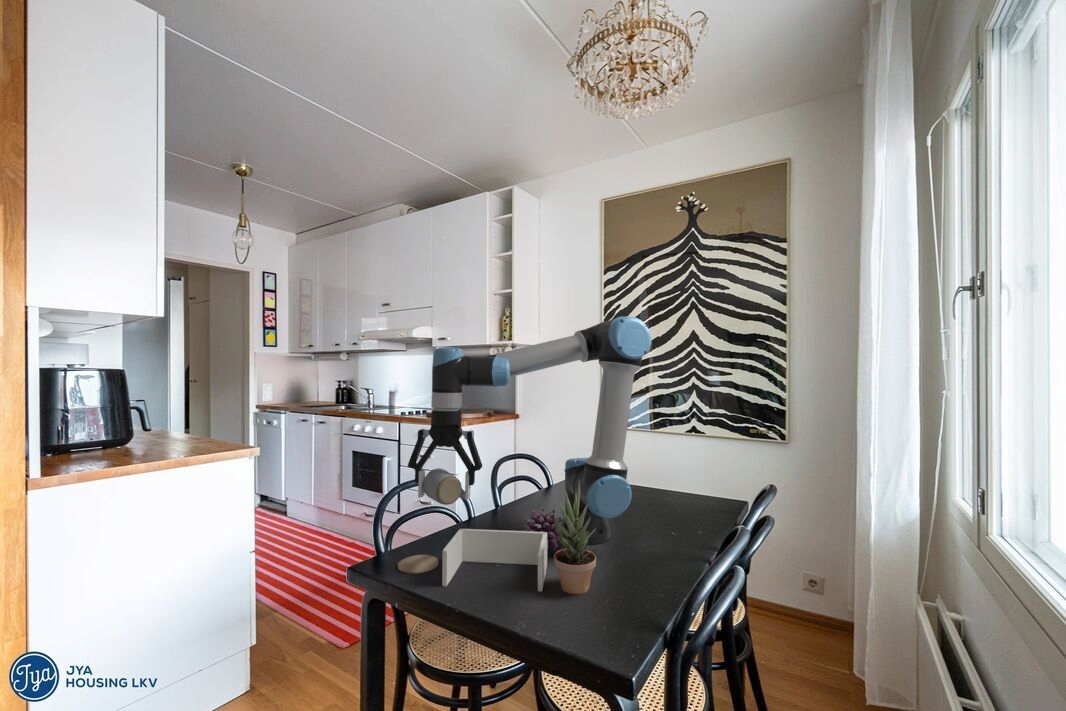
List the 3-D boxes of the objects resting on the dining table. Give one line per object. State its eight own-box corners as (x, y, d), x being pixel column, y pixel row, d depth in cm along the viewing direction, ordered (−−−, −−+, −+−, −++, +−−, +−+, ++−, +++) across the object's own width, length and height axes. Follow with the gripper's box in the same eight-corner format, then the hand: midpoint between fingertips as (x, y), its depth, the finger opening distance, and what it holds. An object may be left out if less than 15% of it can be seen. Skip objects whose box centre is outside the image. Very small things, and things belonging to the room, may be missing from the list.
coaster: (443, 558, 123) (443, 555, 123) (431, 574, 113) (431, 572, 113) (406, 556, 124) (406, 554, 124) (391, 572, 114) (391, 570, 114)
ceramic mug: (436, 508, 110) (437, 475, 111) (421, 500, 117) (423, 469, 117) (475, 502, 117) (476, 471, 117) (459, 494, 123) (460, 465, 124)
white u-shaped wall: (547, 563, 119) (547, 532, 119) (542, 591, 104) (542, 555, 104) (459, 559, 122) (459, 528, 122) (442, 586, 107) (442, 550, 107)
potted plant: (566, 602, 100) (566, 485, 100) (547, 583, 108) (547, 476, 109) (606, 593, 104) (605, 481, 104) (584, 575, 112) (584, 472, 113)
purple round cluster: (574, 552, 127) (574, 507, 127) (544, 565, 118) (544, 517, 119) (543, 541, 135) (543, 499, 135) (513, 552, 127) (513, 508, 127)
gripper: (495, 409, 120) (493, 495, 119) (406, 407, 122) (404, 491, 121) (490, 411, 112) (488, 503, 112) (395, 409, 114) (393, 499, 114)
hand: (444, 497), depth 116 cm, fingers closed on ceramic mug, 11 cm apart
